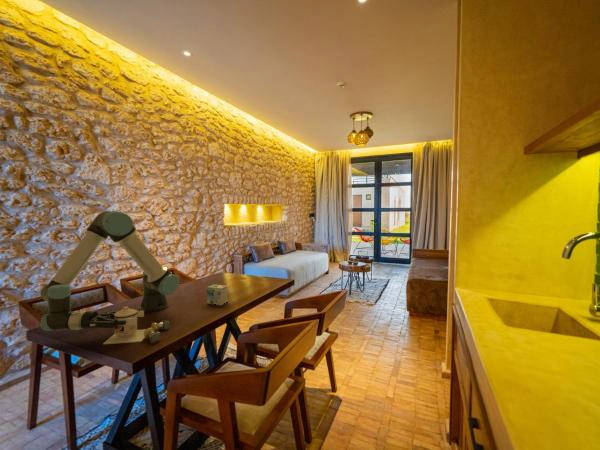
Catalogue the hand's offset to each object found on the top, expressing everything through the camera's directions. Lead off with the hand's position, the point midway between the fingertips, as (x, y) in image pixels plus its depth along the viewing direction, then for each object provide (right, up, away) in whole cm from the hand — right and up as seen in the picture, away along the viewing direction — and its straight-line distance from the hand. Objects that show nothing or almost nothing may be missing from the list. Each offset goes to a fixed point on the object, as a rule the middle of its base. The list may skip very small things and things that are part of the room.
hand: (139, 317), depth 127 cm
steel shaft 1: (+8, -9, -4) cm, 13 cm away
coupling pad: (-4, -9, 0) cm, 10 cm away
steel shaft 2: (+6, -8, +7) cm, 13 cm away
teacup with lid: (-4, -7, -1) cm, 8 cm away
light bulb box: (+21, -7, +48) cm, 53 cm away
